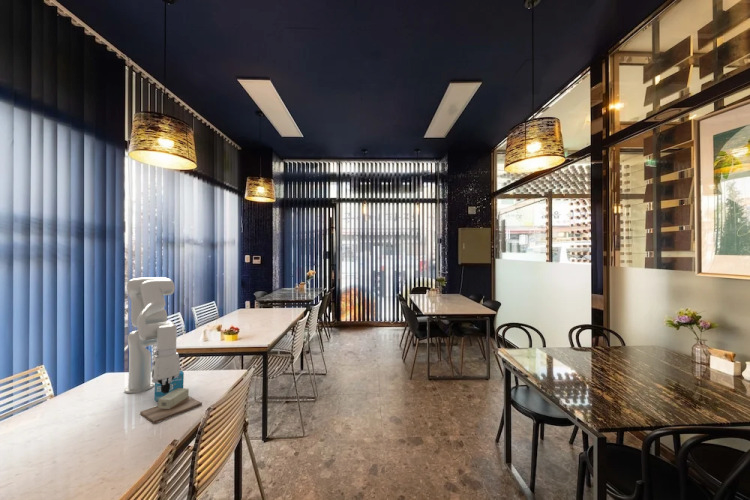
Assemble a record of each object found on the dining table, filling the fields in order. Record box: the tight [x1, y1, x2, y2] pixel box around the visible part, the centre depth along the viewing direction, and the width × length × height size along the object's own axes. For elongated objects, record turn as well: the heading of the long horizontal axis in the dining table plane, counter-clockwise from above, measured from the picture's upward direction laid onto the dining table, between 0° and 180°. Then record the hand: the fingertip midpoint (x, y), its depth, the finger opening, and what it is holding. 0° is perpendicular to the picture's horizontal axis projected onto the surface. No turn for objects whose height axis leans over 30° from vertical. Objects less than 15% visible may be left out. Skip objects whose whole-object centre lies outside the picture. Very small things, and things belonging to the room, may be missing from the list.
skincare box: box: [157, 387, 190, 409], centre depth 145 cm, size 6×4×12 cm
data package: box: [153, 370, 185, 402], centre depth 153 cm, size 12×4×12 cm, turn 122°
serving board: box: [139, 395, 203, 425], centre depth 141 cm, size 14×20×1 cm
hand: (165, 392), depth 139 cm, fingers closed
